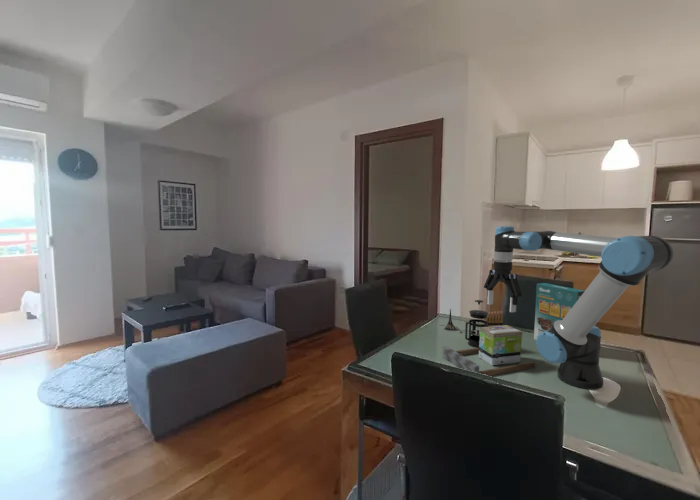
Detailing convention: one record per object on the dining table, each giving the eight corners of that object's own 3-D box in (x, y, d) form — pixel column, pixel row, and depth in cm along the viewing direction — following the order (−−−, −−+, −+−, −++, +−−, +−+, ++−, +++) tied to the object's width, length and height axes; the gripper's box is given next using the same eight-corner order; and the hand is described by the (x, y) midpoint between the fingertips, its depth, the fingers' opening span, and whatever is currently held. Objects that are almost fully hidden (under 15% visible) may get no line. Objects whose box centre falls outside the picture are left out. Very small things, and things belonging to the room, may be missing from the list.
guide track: (534, 367, 148) (535, 356, 147) (474, 378, 138) (475, 366, 137) (497, 348, 169) (497, 338, 168) (442, 357, 159) (442, 346, 158)
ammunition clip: (501, 330, 196) (502, 310, 195) (503, 331, 194) (503, 310, 193) (483, 331, 195) (484, 310, 194) (485, 332, 193) (485, 311, 192)
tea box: (492, 366, 148) (493, 333, 147) (478, 357, 158) (479, 326, 157) (521, 362, 152) (522, 330, 151) (505, 354, 162) (506, 323, 161)
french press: (483, 340, 179) (484, 298, 177) (492, 347, 170) (494, 302, 168) (461, 341, 178) (462, 298, 176) (469, 348, 169) (471, 303, 167)
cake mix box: (582, 352, 164) (586, 291, 161) (573, 354, 162) (577, 292, 159) (542, 337, 184) (544, 282, 182) (533, 339, 182) (536, 283, 179)
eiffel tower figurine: (464, 334, 191) (464, 311, 190) (446, 334, 191) (446, 311, 190) (455, 326, 206) (455, 304, 205) (438, 326, 206) (439, 304, 205)
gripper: (533, 264, 141) (530, 314, 143) (490, 257, 164) (488, 300, 166) (518, 265, 138) (516, 316, 140) (477, 258, 162) (475, 301, 164)
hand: (501, 307), depth 153 cm, fingers open, 13 cm apart
